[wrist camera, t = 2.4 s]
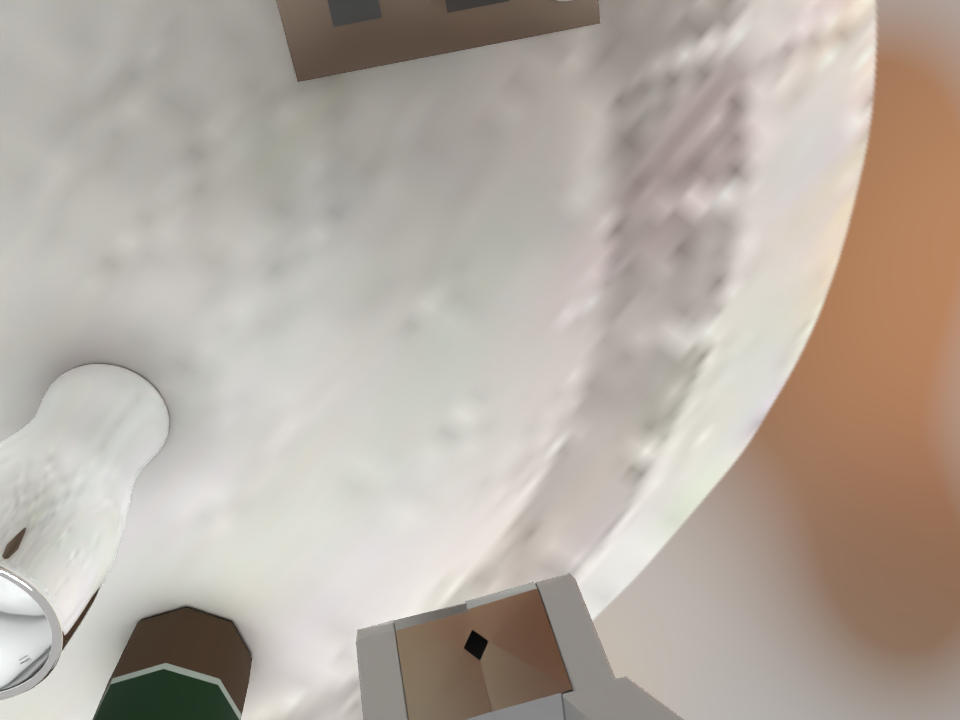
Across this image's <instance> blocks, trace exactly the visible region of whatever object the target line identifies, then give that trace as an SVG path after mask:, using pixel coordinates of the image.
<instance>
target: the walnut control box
mask: <svg viewBox="0 0 960 720" xmlns="http://www.w3.org/2000/svg"><path fill="white" fill-rule="evenodd" d="M276 1H277V4H278V8H279V12H280V16H281V20H282V23H283V27H284V31H285V35H286V39H287V43H288V46H289V50H290V54H291V58H292V62H293V65H294V69H295V73H296V77H297V81H298V82H299V81H305V80H310V79H315V78H320V77H325V76H330V75H336V74H341V73H346V72H351V71H356V70H361V69H367V68H372V67H377V66H382V65H387V64H392V63H397V62H403V61H408V60H413V59H418V58H423V57H428V56H434V55H439V54H444V53H449V52H454V51H459V50H465V49H470V48H475V47H480V46H485V45H490V44H496V43H501V42H506V41H511V40H516V39H521V38H526V37H532V36H537V35H542V34H547V33H552V32H557V31H563V30H568V29H573V28H578V27H583V26H588V25H594V24H599V23H600V16H599V5H598V0H276Z"/></svg>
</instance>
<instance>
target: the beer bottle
mask: <svg viewBox="0 0 960 720" xmlns="http://www.w3.org/2000/svg"><path fill="white" fill-rule="evenodd" d="M251 662H252V658H251V655H250V653H249V651H248V650H247V648H246V646H245V644H244V643H243V641H242V639H241V637H240V636H239V634H238V632H237V630H236V629H235V627H234V625H233V623H232V622H231V621H228V620H225V619H222V618H219V617H216V616H213V615H209V614H206V613H203V612H200V611H197V610H194V609H191V608H188V607H186V608H182V609H179V610H175V611H172V612H168V613H165V614H162V615H158V616H155V617H151V618H148V619H145V620H142V621H140V622H139V623H137V625H136V627H135V629H134V631H133V633H132V635H131V637H130V639H129V641H128V643H127V645H126V647H125V649H124V651H123V653H122V656H121V658H120V660H119V662H118V664H117V666H116V668H115V670H114V672H113V674H112V676H111V678H110V680H109V682H108V684H107V687H106V689H105V691H104V694H103V696H102V699H101V701H100V703H99V706H98V708H97V710H96V713H95V715H94V717H93V720H241V716H242V711H243V707H244V702H245V697H246V692H247V688H248V683H249V676H250V669H251Z"/></svg>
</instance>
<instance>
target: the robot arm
mask: <svg viewBox="0 0 960 720" xmlns="http://www.w3.org/2000/svg"><path fill="white" fill-rule="evenodd" d="M356 647H357V658H358V668H359V679H360V689H361V700H362V711H363V720H684V719H682V718H681V717H680V716H678V715H677V714H676V713H674V712H673V711H672V710H670V709H669V708H668V707H666V706H665V705H664V704H662V703H661V702H660V701H658V700H657V699H656V698H654V697H653V696H652V695H650V694H649V693H648V692H646V691H645V690H644V689H643V688H641V687H640V686H638V685H637V684H636V683H635V682H633V681H632V680H631V679H629V678H628V677H627V676H626V677H621V678H617V679H615V676H614V674H613V671H612V669H611V666H610V664H609V662H608V659H607V657H606V654H605V652H604V649H603V646H602V644H601V642H600V639H599V637H598V634H597V632H596V629H595V627H594V624H593V622H592V619H591V617H590V614H589V612H588V609H587V607H586V604H585V602H584V600H583V597H582V595H581V592H580V590H579V587H578V585H577V582H576V580H575V578H574V577H573V576H572V575H571V574H570V573H568V574H564V575H561V576H557V577H554V578H550V579H547V580H543V581H540V582H536V583H535V584H534V582H532V583H528V584H525V585H521V586H518V587H514V588H511V589H507V590H504V591H500V592H497V593H493V594H490V595H486V596H483V597H479V598H476V599H472V600H469V601H465V603H463V604H459V605H455V606H451V607H447V608H443V609H439V610H434V611H430V612H426V613H422V614H418V615H414V616H410V617H406V618H402V619H398V620H395V621H394V620H393V621H389V622H386V623H382V624H378V625H374V626H371V627H367V628H363V629H359V630H357V639H356Z"/></svg>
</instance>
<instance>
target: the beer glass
mask: <svg viewBox="0 0 960 720" xmlns="http://www.w3.org/2000/svg"><path fill="white" fill-rule="evenodd" d="M168 432H169V414H168V410H167V407H166V404H165V402H164V400H163V398H162V397H161V395H160V394H159V392H158V391H157V390H156V389H155V388H154V387H153V386H152V385H151V384H150V383H149V382H148V381H147V380H145V379H144V378H143V377H141V376H140V375H138V374H136V373H134V372H132V371H130V370H128V369H125V368H122V367H119V366H115V365H109V364H88V365H83V366H79V367H76V368H73V369H71V370H69V371H67V372H65V373H63V374H62V375H61V376H59V377H58V378H57V379H56V380H55V381H54V382H53V383H52V384H51V385H50V387H49V388H48V390H47V391H46V393H45V395H44V397H43V399H42V401H41V404H40V406H39V408H38V411H37V413H36V415H35V416H34V418H33V419H32V420H31V421H30V422H29V423H28V424H27V425H26V426H24V427H23V428H22V429H20V430H19V431H17V432H16V433H15V434H13V435H11V436H10V437H8V438H7V439H5V440H4V441H2V442H1V443H0V700H3V699H7V698H11V697H14V696H17V695H19V694H21V693H24V692H26V691H28V690H30V689H31V688H33V687H35V686H36V685H38V684H39V683H40V682H42V681H43V680H44V679H45V678H46V677H47V676H48V675H49V674H50V673H51V671H52V670H53V669H54V667H55V666H56V664H57V662H58V660H59V657H60V655H61V654H62V652H63V650H64V649H65V647H66V646H67V644H68V643H69V641H70V640H71V638H72V637H73V635H74V634H75V632H76V631H77V629H78V627H79V626H80V624H81V623H82V621H83V619H84V618H85V616H86V615H87V613H88V611H89V610H90V608H91V606H92V604H93V603H94V601H95V599H96V597H97V595H98V594H99V592H100V590H101V588H102V586H103V584H104V582H105V580H106V578H107V576H108V573H109V571H110V569H111V567H112V564H113V562H114V560H115V558H116V555H117V551H118V548H119V545H120V542H121V538H122V535H123V532H124V528H125V523H126V519H127V514H128V510H129V505H130V500H131V495H132V491H133V487H134V483H135V480H136V478H137V475H138V474H139V472H140V471H141V470H142V468H143V467H144V466H145V465H147V464H148V463H149V462H150V461H151V460H152V459H153V458H154V457H155V455H156V454H157V453H158V452H159V451H160V449H161V448H162V446H163V445H164V443H165V441H166V439H167V436H168Z"/></svg>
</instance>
